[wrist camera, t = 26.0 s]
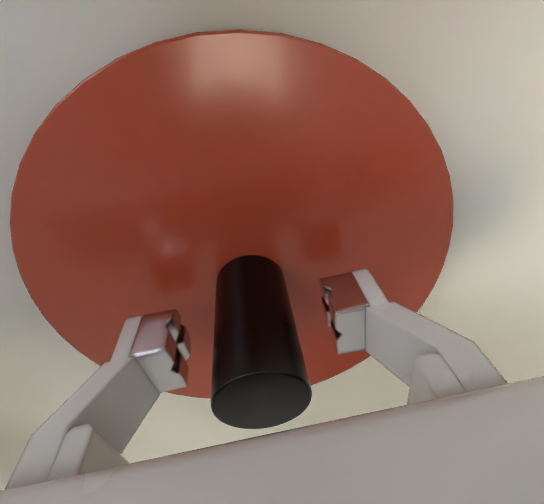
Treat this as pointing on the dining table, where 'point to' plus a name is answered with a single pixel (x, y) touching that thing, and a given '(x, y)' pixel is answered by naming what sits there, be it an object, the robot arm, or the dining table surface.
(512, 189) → the dining table surface
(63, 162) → the pot lid
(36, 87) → the dining table surface
